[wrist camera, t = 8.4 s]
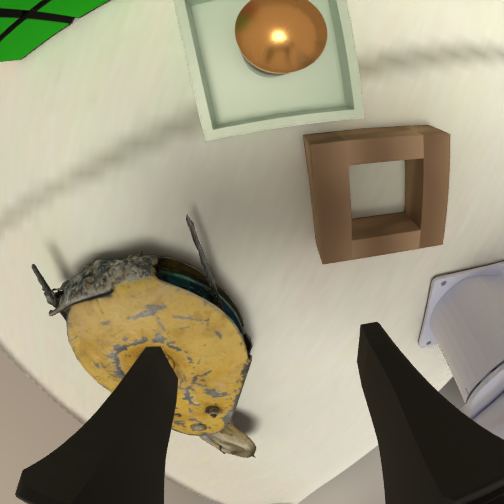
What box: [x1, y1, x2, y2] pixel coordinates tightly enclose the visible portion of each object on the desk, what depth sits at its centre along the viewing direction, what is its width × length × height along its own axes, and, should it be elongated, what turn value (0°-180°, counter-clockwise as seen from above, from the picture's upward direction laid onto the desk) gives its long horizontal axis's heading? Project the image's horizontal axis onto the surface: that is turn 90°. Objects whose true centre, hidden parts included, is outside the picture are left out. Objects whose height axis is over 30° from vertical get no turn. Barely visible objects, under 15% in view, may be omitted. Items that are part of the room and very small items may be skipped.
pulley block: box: [32, 215, 256, 458], centre depth 26 cm, size 14×6×30 cm
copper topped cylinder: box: [235, 0, 327, 77], centre depth 11 cm, size 3×3×7 cm
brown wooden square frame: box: [303, 125, 450, 264], centre depth 17 cm, size 8×7×2 cm
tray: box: [174, 0, 365, 142], centre depth 13 cm, size 8×8×2 cm
